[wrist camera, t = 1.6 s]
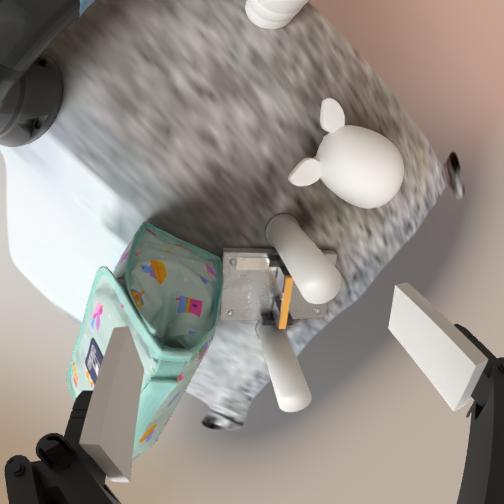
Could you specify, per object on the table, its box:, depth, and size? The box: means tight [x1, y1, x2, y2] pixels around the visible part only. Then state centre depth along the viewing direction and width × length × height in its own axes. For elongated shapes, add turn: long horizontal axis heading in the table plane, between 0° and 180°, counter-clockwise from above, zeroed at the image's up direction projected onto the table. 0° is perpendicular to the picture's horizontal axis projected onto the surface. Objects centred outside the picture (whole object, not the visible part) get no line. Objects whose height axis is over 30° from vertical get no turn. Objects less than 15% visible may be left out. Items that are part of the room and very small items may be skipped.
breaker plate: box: [220, 248, 337, 325], centre depth 51 cm, size 18×12×4 cm, turn 85°
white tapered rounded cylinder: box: [255, 320, 312, 412], centre depth 48 cm, size 5×5×18 cm
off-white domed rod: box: [265, 214, 342, 304], centre depth 41 cm, size 5×5×18 cm
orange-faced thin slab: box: [273, 267, 293, 329], centre depth 48 cm, size 1×9×4 cm, turn 175°
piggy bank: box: [288, 98, 404, 208], centre depth 41 cm, size 12×12×15 cm
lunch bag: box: [67, 222, 224, 460], centre depth 38 cm, size 23×16×27 cm
